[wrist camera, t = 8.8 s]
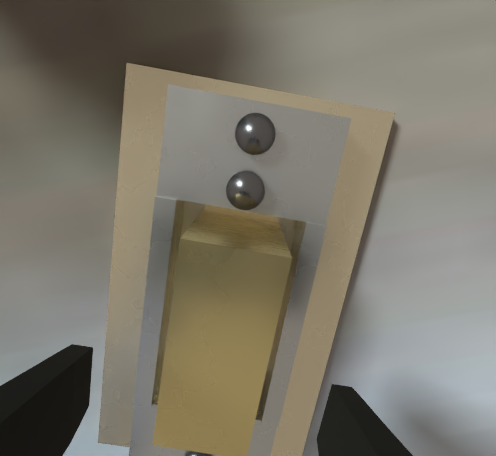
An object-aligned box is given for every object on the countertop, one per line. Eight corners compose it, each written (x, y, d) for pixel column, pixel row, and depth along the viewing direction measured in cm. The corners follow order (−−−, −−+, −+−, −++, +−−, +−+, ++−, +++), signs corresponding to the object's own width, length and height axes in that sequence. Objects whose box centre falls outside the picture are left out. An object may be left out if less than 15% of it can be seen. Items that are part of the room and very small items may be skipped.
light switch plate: (296, 461, 18) (304, 520, 15) (103, 432, 18) (74, 488, 15) (388, 114, 14) (425, 105, 11) (131, 66, 13) (98, 43, 10)
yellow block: (247, 375, 16) (246, 459, 12) (178, 364, 16) (152, 445, 12) (279, 224, 14) (292, 257, 10) (201, 210, 14) (180, 238, 10)
